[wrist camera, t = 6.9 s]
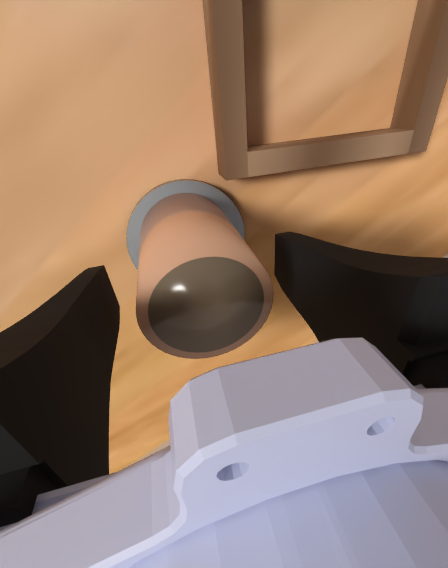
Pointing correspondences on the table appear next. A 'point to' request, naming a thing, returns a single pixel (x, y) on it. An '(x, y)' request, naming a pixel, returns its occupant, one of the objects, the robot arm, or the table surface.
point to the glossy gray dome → (171, 189)
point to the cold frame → (331, 149)
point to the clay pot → (198, 280)
